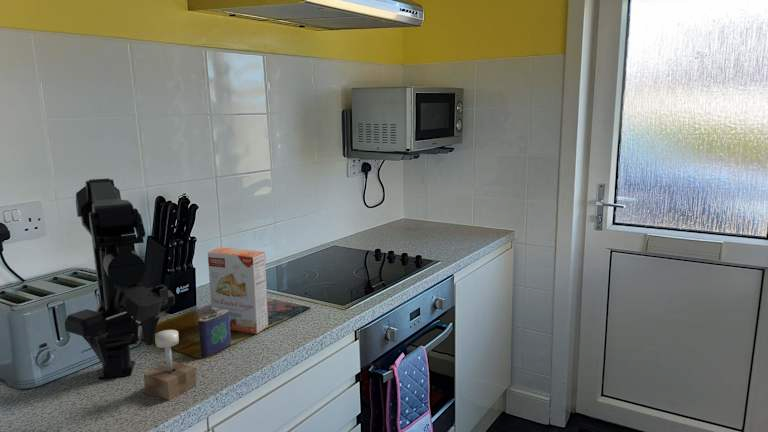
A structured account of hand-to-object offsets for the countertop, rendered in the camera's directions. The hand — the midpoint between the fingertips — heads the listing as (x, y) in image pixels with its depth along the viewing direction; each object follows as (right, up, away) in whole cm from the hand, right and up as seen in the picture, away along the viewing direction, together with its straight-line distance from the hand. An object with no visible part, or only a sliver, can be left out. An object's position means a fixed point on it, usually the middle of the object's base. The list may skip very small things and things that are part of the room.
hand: (127, 353), depth 103 cm
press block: (+4, -10, +12) cm, 16 cm away
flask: (+7, -7, +30) cm, 32 cm away
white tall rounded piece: (+4, -7, +11) cm, 13 cm away
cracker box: (+10, -4, +44) cm, 45 cm away
